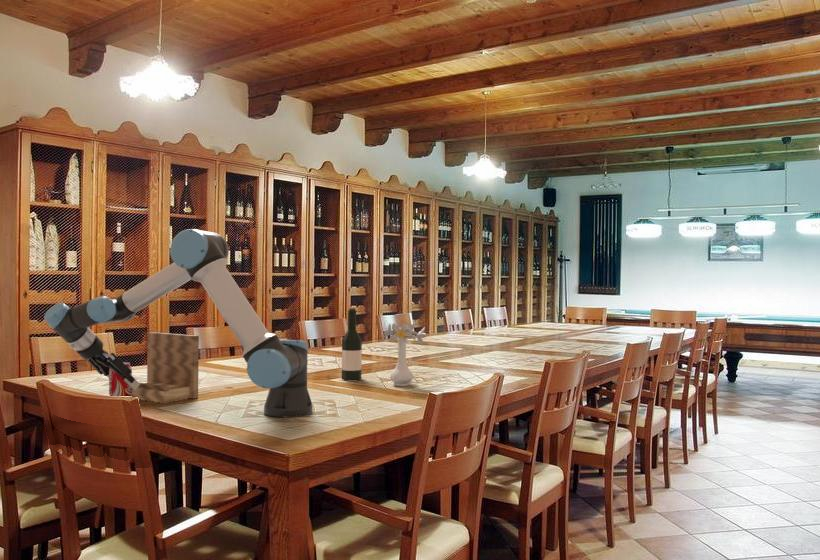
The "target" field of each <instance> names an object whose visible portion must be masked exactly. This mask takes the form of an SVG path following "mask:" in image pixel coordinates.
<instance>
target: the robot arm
mask: <svg viewBox="0 0 820 560" xmlns="http://www.w3.org/2000/svg"><path fill="white" fill-rule="evenodd" d="M169 254H170V257H171V260H172V263H170V264H169V265H167V266H165V267H164V268H162V269H161V270H159V271H157V272H156V273H154V274H153V275H151V276H150V277H148V278H146V279H144V280H142V281H141V282H139V283H138V284H136V285H134V286H133V287H131V288H129V289H128V290H126V291H124V293H122V294H120V295H118V296H117V297H115V298H113V299H111V298H109V297H108V296H107V295H106V296H105V295H104V296H99V297H95V298H92V299H91V300H87V301H86V302H84V303H83V302H82V303H80V304H77V305H74V306H72V307H70V306H69V305H67V304H65V303H61V302H59V303H55V304H53V306H51V307H50V308H48V309H47V311H45V314H44V316H43V318H44V321H45V323H46V324H47V325H48V326H49V327H50V329H51V330H53V331H54V332H55V333H56V334H57V335H59V336H60V337H61V339H63V340H64V341H65V343H67V344H68V345H69V348H70V349H73V350H74V351H75V352H76V353H78V355H79V356H80V357H81V358H82V359H84V360H86V361H87V362H88V363H89V364H90V366H92V367H93V369H95V371H96V372H97V373H98V374H100V375H103V376H105V377H107V378H108V379H109V369H110V368H111V369H112V370H114V371H115V372H116V373H118V374H119V375H120V376H122V377H123V378H122V380H124V381H125V382H126V383H127V384H128V385H129V386H130V387H131V388H132V389H133V390H136V389H137V388H138V386H139V385H140V383H141V382H139V381H138V380H137V379H136V378H135V377H134V376H133V374H132V375H131V372H132V373H133V370H132V371H131V370H130V369H129V368H128V367H127V366H126V365H125V364H124V363H123V362H124V361H122V360H121V359H119V358H118V357H117V355H116V354H115V352H114V353H113V352H111V353H108V351H107V350H105V349H104V342H103V341H102V340H101V339H100V338H99V337H98V336H97V335H96V334H95V333H94V331H93V330H92V329H91V328H90V327H93V326H96V325H102V324H103V325H104V324H110V323H123V322H127V321H130V320H132V319H133V318H134V317H135V316H136V314H137V313H139V311H142V310H143V309H145V308H146V307H148V306H150V305H151V304H153V303H154V302H156V301H158V300H159V299H161V298H163V297H165V296H166V295H168V294H170V293H171V292H173V291H175V290H176V289H178V288H180V287H181V286H183V285H184V284H186V283H188V282H189V281H193V282H198V283H200V284H201V285H202V287H203V288H204V289H205V291H206V293H207V294H208V296H209V297H210V299H211V301H212V303H214V305H215V307H216V308H217V310H218V312H219V313H220V314H221V316H222V318H223V319H224V320H225V322H226V323H227V326H229V328H230V330H231V331H232V333H233V334H234V336H235V337H236V339H237V341H238V342H239V344H240V346H242V349H243V352H242V358H243V359H244V360H245V362H246V364H247V365H246V372H247V376H248V377H249V379H250V381H251V382H252V383H253V384H254V385H255V386H258V387H259V388H262V389H269V390H268V392H267V396H266V399H265V403H264V405H263V414H264V415H266V416H270V417H276V418H292V417H293V418H294V417H295V418H296V417H302V416H303V417H304V416H308V415H310V414H312V413H313V403H312V400H311V397H310V393H309V390H308V354H309V349H308V343H307V341H305V340H300V339H280V338H279V336H278V335H277V334H276V333H271V332H269V330H268V329H267V327H266V326H265V324H264V323H263V321H262V320H261V319H260V317H259V315H258V314H257V313H256V311H255V309H254V308H253V306H252V305H251V304H250V301H249V300H248V299H247V297H246V296H245V294H244V293H243V291H242V289H241V288H240V286H239V285H238V284H237V282H236V281H235V279H234V277H233V276H232V275H231V273H230V271H229V270H228V268H227V263H228V257H229V246H228V243H227V241H226V239H225V238H224V237H223V236H222V235H221V234H219V233H216V232H214V231H208V230H207V231H206V230H202V229H201V230H200V229H197V228H189V229H184V230H181V231H179V232H178V233H177V234H176V235H175V236H174V237H173V238H172V240H171V243H170V248H169Z"/></svg>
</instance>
